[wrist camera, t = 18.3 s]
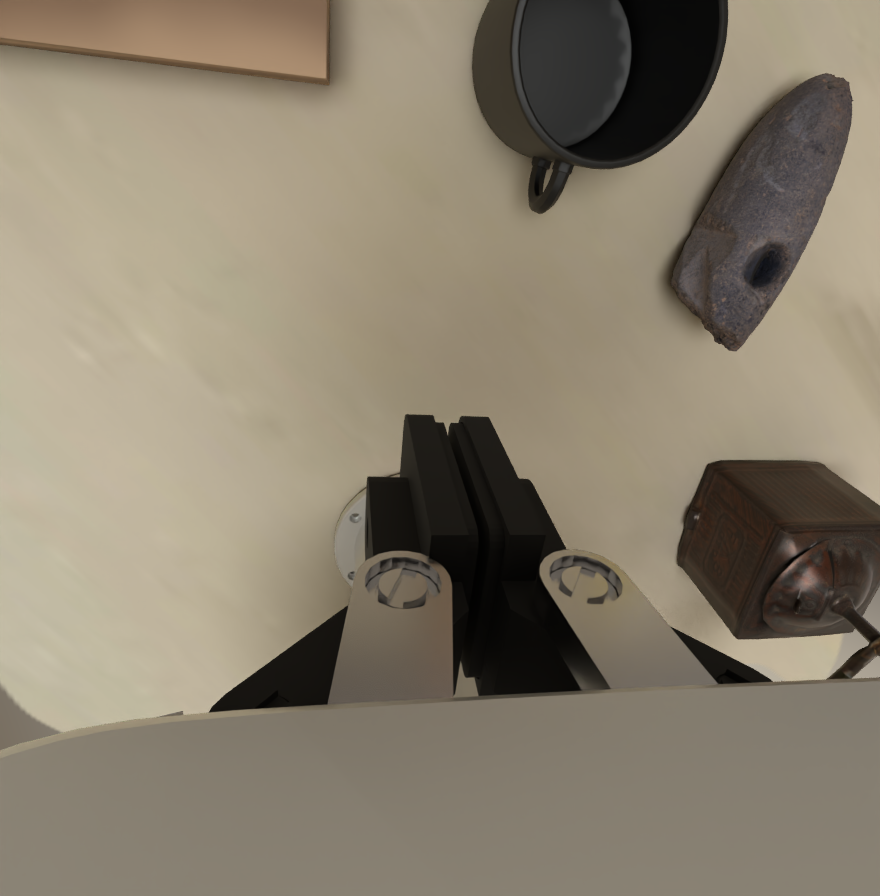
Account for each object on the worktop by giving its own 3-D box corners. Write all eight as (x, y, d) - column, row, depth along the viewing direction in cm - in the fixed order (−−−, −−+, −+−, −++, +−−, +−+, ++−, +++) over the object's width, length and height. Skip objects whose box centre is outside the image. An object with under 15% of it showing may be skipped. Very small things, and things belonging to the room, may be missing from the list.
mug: (439, 181, 34) (466, 198, 26) (500, -75, 29) (556, -149, 21) (584, 222, 37) (648, 248, 29) (665, -10, 31) (771, -54, 23)
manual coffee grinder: (700, 459, 47) (877, 626, 31) (822, 459, 48) (1049, 618, 33) (651, 605, 54) (775, 800, 38) (759, 601, 56) (919, 786, 40)
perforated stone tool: (763, 59, 34) (854, 44, 28) (830, 98, 35) (931, 92, 29) (634, 305, 40) (686, 337, 34) (696, 329, 41) (756, 364, 35)
